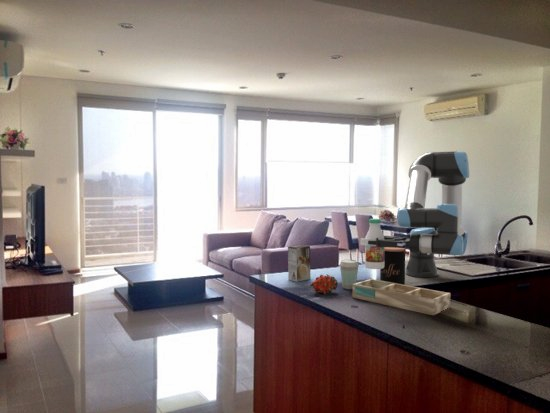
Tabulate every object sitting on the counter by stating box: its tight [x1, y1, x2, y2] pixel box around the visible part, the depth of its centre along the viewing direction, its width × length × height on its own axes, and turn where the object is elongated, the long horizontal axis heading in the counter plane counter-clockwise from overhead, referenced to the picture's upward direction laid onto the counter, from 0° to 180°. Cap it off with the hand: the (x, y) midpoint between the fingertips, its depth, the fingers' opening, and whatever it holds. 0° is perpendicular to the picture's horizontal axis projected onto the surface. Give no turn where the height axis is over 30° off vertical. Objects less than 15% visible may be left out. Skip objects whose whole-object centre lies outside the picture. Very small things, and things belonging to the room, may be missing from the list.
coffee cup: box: [339, 258, 360, 290], centre depth 211 cm, size 8×9×12 cm
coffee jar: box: [379, 247, 406, 285], centre depth 210 cm, size 11×11×18 cm
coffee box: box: [287, 244, 311, 282], centre depth 228 cm, size 9×6×16 cm
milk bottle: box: [364, 218, 385, 270], centre depth 193 cm, size 8×8×20 cm
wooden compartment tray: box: [351, 278, 451, 316], centre depth 187 cm, size 14×35×6 cm, turn 45°
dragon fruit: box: [310, 274, 339, 295], centre depth 202 cm, size 8×8×12 cm
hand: (363, 240), depth 195 cm, fingers closed on milk bottle, 7 cm apart
